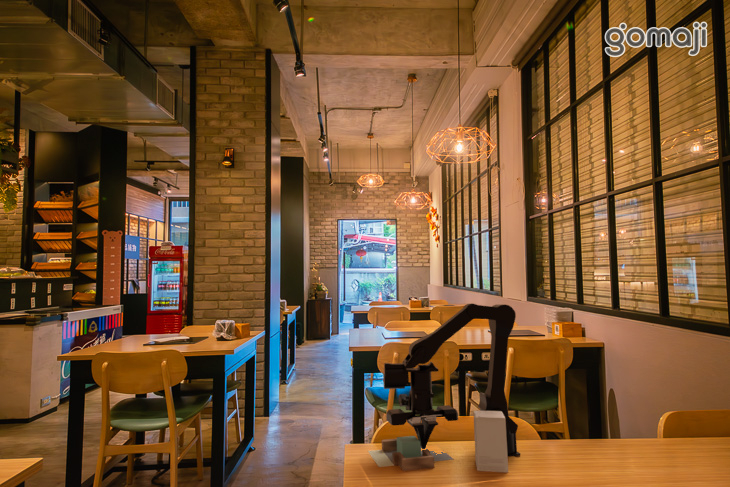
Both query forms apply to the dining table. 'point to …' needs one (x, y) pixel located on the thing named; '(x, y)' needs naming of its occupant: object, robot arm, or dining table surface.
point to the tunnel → (408, 463)
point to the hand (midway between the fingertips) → (423, 448)
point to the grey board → (386, 457)
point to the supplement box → (490, 441)
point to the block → (409, 446)
